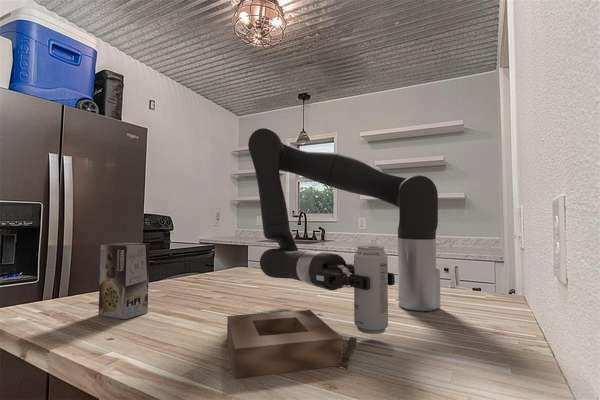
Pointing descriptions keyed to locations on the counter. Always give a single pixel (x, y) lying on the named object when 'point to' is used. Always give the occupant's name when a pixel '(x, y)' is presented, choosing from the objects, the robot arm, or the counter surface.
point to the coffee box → (124, 280)
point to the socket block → (281, 343)
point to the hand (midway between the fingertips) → (381, 281)
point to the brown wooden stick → (347, 353)
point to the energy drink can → (371, 290)
